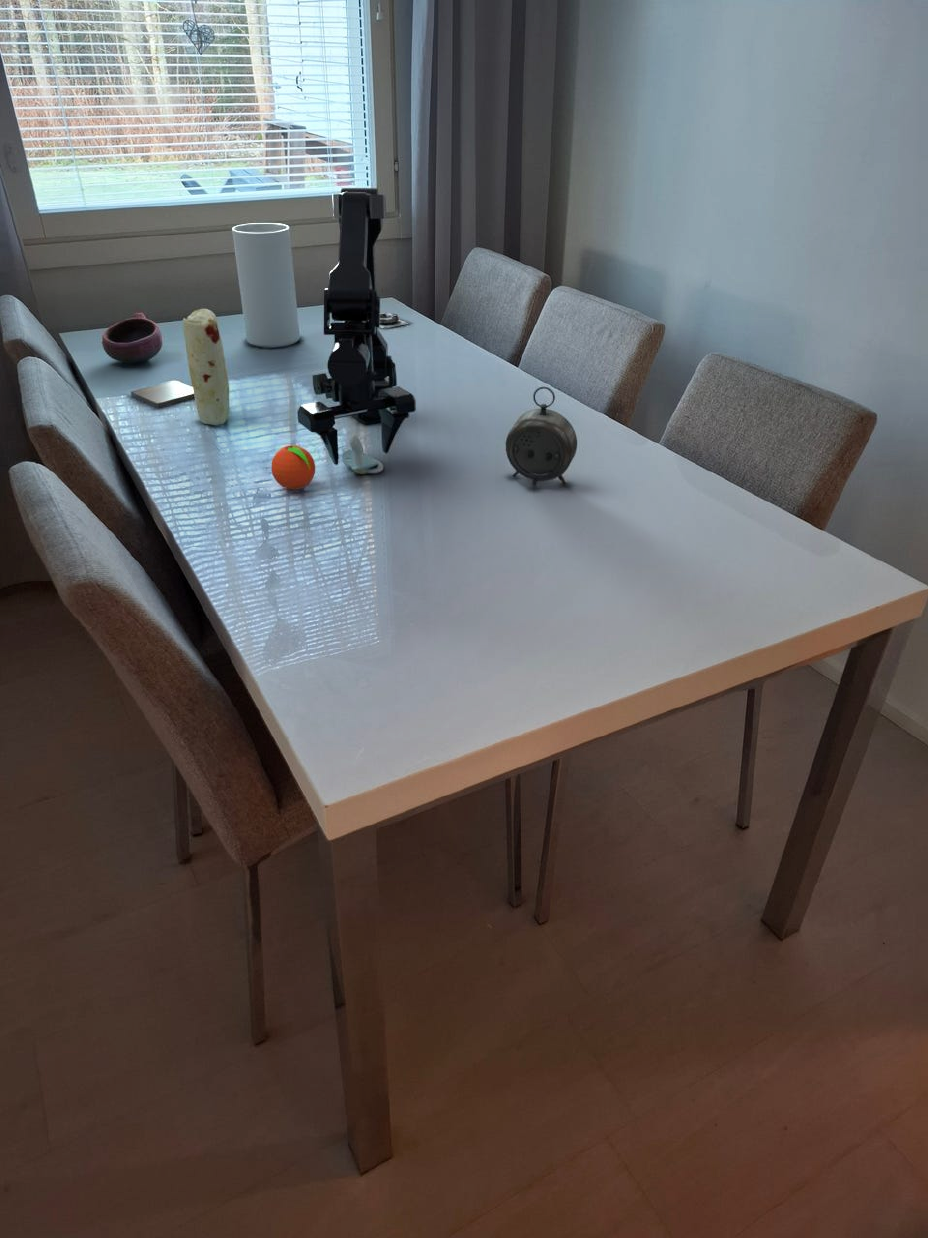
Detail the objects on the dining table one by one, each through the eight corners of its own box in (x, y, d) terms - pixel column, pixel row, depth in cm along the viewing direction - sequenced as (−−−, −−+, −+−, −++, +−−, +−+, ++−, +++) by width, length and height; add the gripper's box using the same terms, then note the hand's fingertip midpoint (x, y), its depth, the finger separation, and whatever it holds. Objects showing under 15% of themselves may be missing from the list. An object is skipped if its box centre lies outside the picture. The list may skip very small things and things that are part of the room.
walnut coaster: (175, 384, 181) (174, 379, 180) (202, 395, 175) (201, 390, 175) (131, 396, 175) (130, 391, 174) (158, 408, 169) (157, 403, 169)
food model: (236, 427, 161) (220, 317, 150) (199, 431, 159) (181, 320, 148) (231, 409, 169) (216, 303, 158) (196, 412, 167) (178, 305, 156)
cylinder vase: (295, 348, 202) (283, 233, 188) (241, 348, 202) (226, 232, 188) (304, 333, 212) (293, 223, 198) (253, 333, 212) (239, 222, 199)
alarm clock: (574, 482, 142) (582, 385, 133) (566, 495, 138) (574, 396, 129) (510, 472, 145) (514, 377, 136) (501, 485, 141) (504, 387, 132)
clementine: (330, 489, 139) (326, 447, 135) (295, 503, 135) (291, 460, 131) (299, 474, 144) (295, 434, 140) (264, 487, 140) (259, 446, 136)
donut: (365, 321, 222) (364, 313, 220) (389, 316, 226) (389, 308, 225) (383, 328, 216) (383, 320, 215) (409, 323, 220) (408, 315, 219)
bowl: (173, 363, 192) (167, 326, 188) (114, 373, 186) (106, 335, 182) (152, 345, 204) (145, 310, 199) (96, 354, 198) (87, 318, 193)
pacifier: (370, 458, 150) (338, 465, 147) (369, 423, 146) (337, 429, 144) (390, 473, 145) (358, 480, 142) (390, 438, 141) (357, 444, 139)
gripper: (383, 343, 145) (387, 431, 154) (278, 360, 137) (289, 453, 146) (416, 360, 138) (418, 452, 146) (307, 380, 129) (316, 477, 138)
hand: (360, 458), depth 144 cm, fingers open, 9 cm apart
